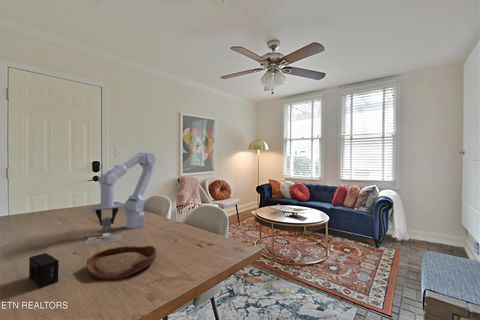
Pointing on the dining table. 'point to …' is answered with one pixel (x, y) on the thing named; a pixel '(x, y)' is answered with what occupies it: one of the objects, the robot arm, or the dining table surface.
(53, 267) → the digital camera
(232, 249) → the dining table surface
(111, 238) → the flange plate
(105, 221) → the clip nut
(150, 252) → the basket
